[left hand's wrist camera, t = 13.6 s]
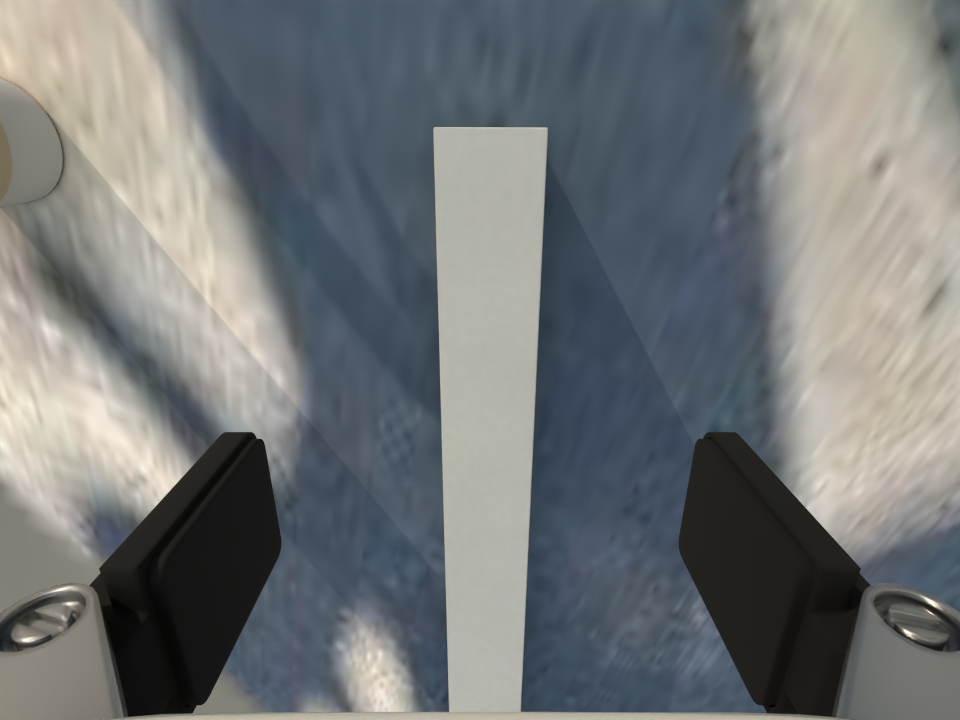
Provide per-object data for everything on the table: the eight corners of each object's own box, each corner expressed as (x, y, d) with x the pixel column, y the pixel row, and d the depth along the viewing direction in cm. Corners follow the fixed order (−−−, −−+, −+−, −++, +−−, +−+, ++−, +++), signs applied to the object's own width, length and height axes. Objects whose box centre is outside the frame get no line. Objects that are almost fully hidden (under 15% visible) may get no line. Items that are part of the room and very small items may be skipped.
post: (442, 132, 31) (433, 127, 25) (534, 132, 31) (548, 127, 25) (457, 853, 58) (455, 937, 52) (507, 853, 58) (510, 937, 52)
